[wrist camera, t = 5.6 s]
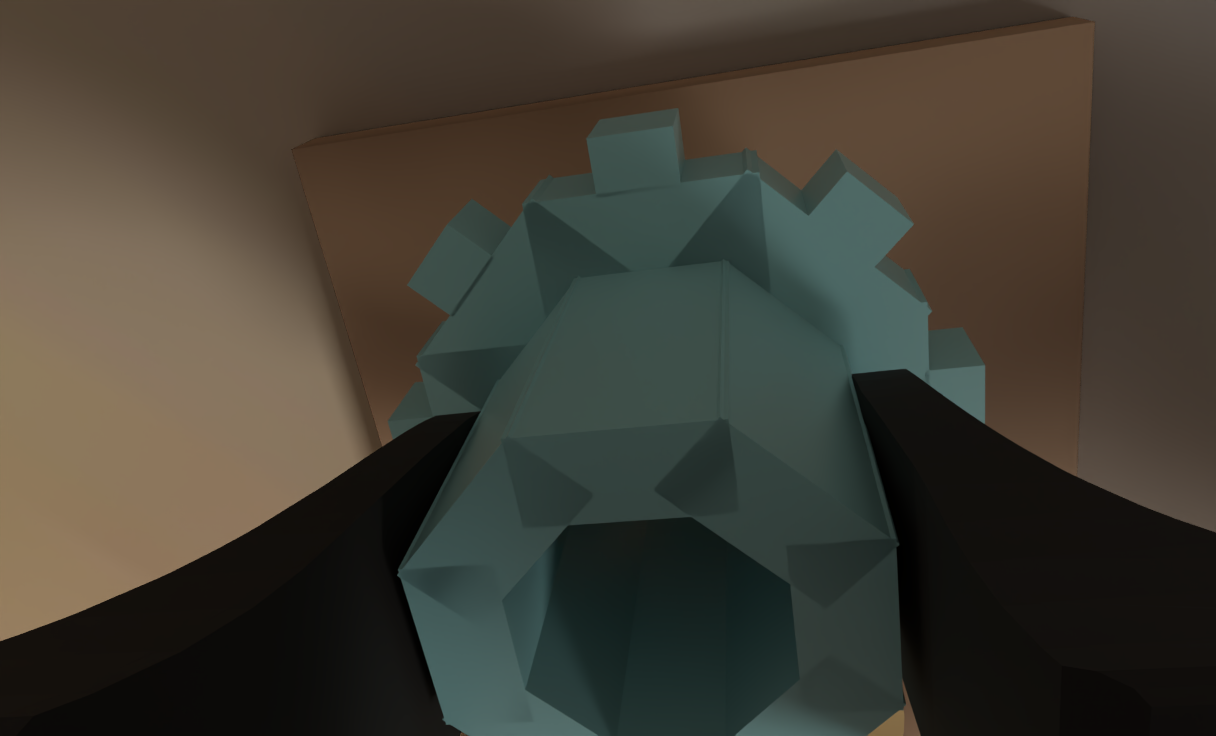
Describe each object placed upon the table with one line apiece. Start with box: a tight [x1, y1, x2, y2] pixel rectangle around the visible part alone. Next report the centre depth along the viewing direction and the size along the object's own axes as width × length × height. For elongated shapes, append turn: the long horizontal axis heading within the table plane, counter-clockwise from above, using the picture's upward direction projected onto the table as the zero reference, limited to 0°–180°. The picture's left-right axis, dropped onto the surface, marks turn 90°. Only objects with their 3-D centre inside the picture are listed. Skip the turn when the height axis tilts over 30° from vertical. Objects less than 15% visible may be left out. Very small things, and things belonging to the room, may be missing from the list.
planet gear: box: [388, 108, 985, 736], centre depth 11 cm, size 8×8×5 cm
